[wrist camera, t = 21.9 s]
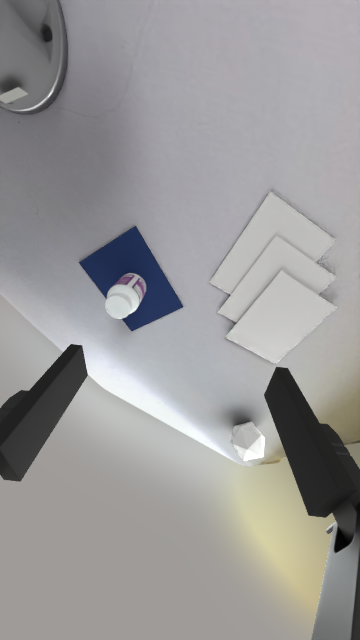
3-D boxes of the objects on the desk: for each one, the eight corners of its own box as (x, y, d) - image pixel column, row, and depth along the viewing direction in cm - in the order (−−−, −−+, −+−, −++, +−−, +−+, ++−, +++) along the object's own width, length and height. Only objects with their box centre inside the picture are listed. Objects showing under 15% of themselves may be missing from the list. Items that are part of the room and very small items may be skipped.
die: (233, 435, 63) (260, 466, 55) (218, 439, 56) (246, 473, 49) (248, 413, 62) (278, 441, 54) (234, 414, 56) (265, 446, 48)
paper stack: (186, 315, 42) (186, 317, 41) (270, 191, 30) (271, 190, 30) (274, 362, 46) (275, 364, 46) (375, 268, 35) (378, 269, 34)
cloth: (79, 262, 38) (78, 262, 38) (135, 226, 34) (135, 226, 34) (131, 330, 45) (131, 331, 44) (183, 306, 41) (183, 307, 41)
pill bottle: (116, 292, 40) (96, 315, 32) (123, 268, 38) (103, 285, 29) (142, 302, 41) (129, 327, 32) (150, 279, 38) (138, 299, 30)
